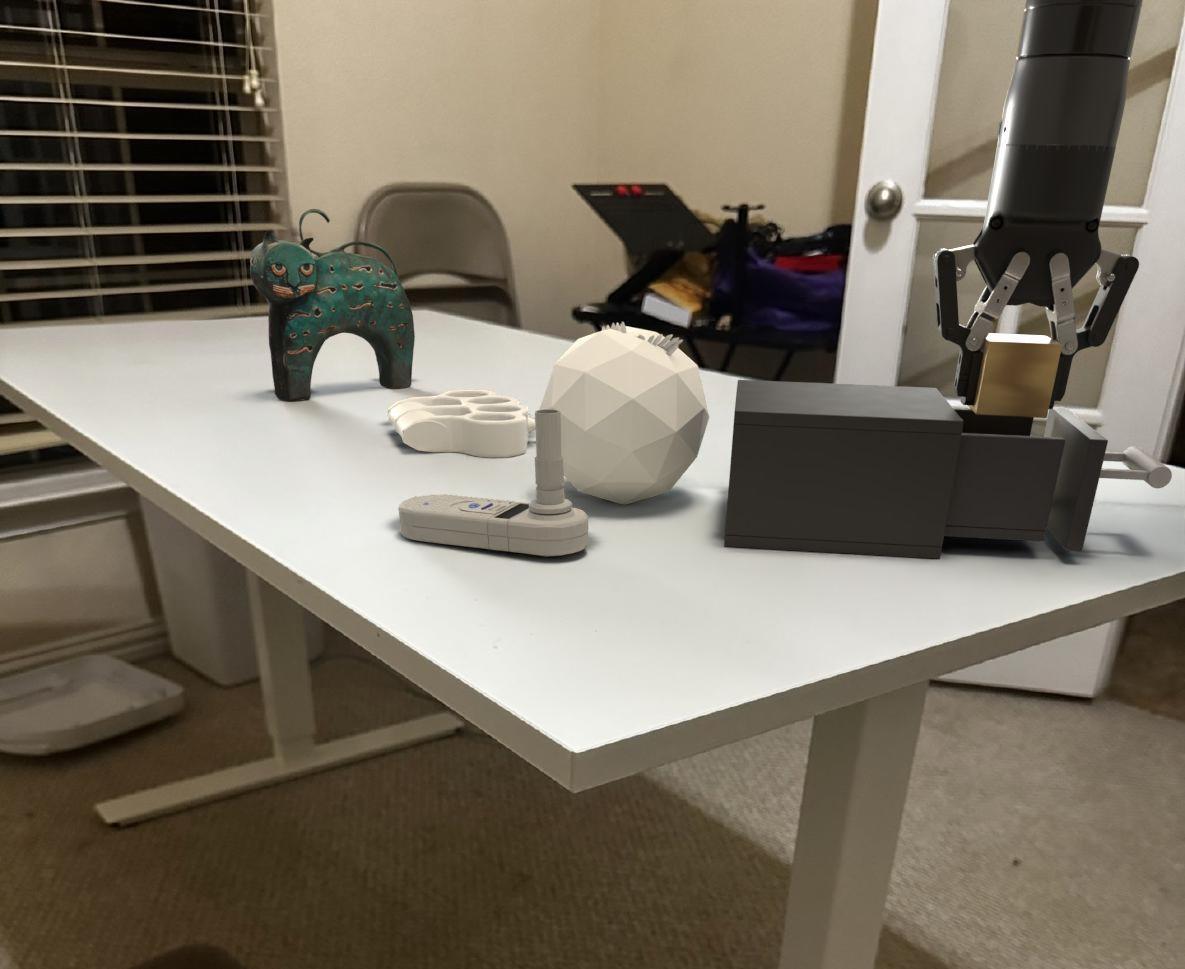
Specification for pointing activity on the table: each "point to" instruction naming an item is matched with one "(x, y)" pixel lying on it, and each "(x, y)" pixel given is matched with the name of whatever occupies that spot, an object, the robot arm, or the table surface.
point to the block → (1016, 375)
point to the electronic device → (507, 510)
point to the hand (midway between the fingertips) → (1006, 404)
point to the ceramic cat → (330, 309)
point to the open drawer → (1035, 477)
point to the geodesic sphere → (627, 413)
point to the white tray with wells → (464, 423)
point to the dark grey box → (841, 468)
